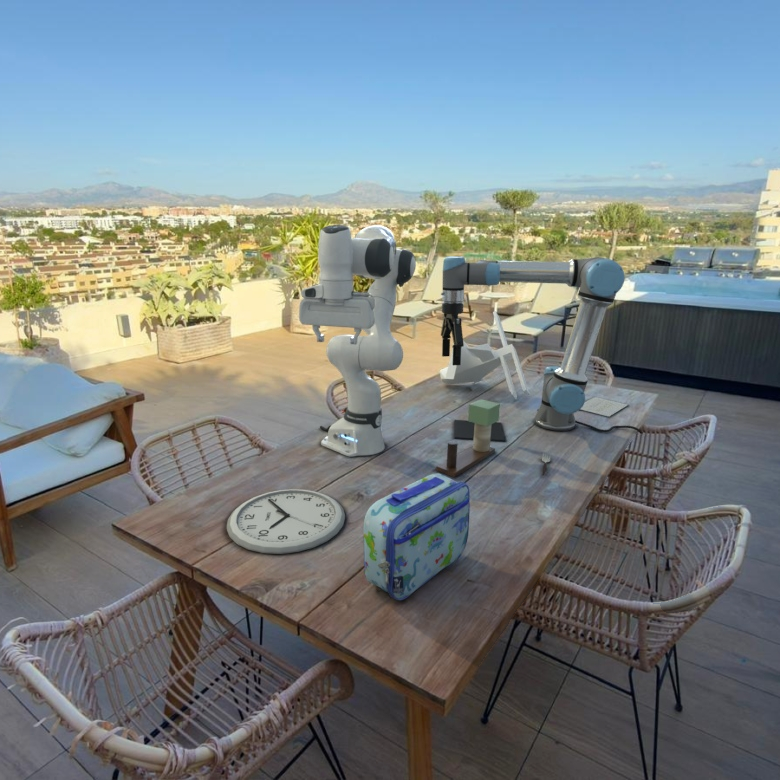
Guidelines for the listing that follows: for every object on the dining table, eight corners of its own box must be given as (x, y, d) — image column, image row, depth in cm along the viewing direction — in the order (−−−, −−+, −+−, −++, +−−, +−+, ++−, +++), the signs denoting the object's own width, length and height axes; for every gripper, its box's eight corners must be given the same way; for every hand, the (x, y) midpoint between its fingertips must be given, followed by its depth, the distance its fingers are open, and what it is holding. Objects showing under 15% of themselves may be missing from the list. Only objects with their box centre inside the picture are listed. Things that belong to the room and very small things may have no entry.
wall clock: (345, 545, 122) (213, 550, 119) (345, 551, 122) (214, 556, 120) (344, 484, 150) (238, 487, 148) (345, 490, 151) (239, 492, 148)
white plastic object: (461, 429, 252) (437, 405, 227) (444, 352, 274) (420, 323, 250) (535, 404, 240) (518, 377, 215) (510, 326, 262) (492, 293, 237)
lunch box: (392, 613, 103) (394, 520, 97) (356, 587, 110) (356, 498, 104) (472, 558, 121) (478, 476, 114) (437, 539, 128) (441, 461, 122)
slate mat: (500, 423, 205) (500, 422, 204) (504, 441, 188) (505, 440, 187) (454, 421, 207) (454, 419, 206) (454, 438, 190) (454, 437, 189)
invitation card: (608, 416, 214) (573, 407, 224) (608, 416, 214) (573, 408, 224) (628, 404, 229) (594, 396, 238) (628, 405, 229) (594, 397, 238)
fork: (538, 475, 162) (539, 470, 161) (542, 455, 176) (543, 450, 175) (547, 477, 161) (547, 471, 160) (550, 457, 175) (551, 451, 174)
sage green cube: (498, 420, 175) (500, 403, 173) (487, 426, 170) (488, 409, 168) (479, 415, 180) (480, 399, 178) (467, 421, 174) (469, 404, 172)
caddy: (494, 452, 178) (497, 420, 175) (454, 477, 160) (456, 442, 157) (477, 446, 183) (479, 416, 179) (435, 470, 164) (437, 436, 161)
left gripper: (378, 291, 136) (377, 343, 141) (305, 287, 141) (306, 338, 145) (371, 294, 130) (371, 348, 135) (295, 290, 135) (297, 342, 139)
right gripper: (433, 297, 195) (432, 353, 201) (452, 307, 172) (450, 369, 178) (452, 297, 196) (451, 352, 203) (474, 306, 173) (471, 368, 179)
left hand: (337, 342), depth 140 cm, fingers open, 8 cm apart
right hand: (451, 360), depth 190 cm, fingers open, 13 cm apart
